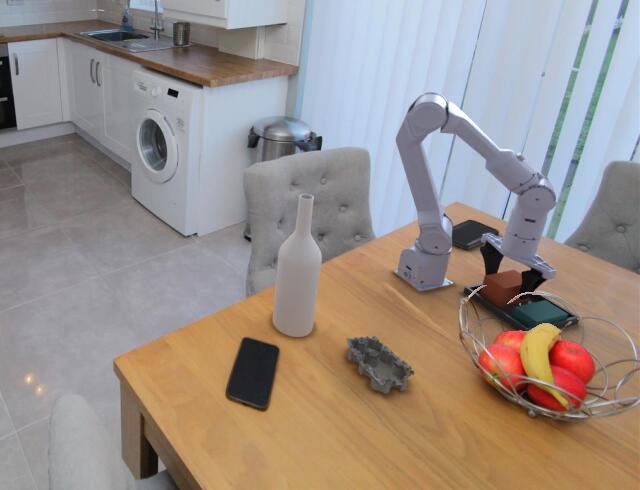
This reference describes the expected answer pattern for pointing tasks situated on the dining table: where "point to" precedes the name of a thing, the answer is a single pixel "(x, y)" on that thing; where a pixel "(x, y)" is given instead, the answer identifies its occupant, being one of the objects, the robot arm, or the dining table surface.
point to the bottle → (297, 276)
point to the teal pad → (538, 313)
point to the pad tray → (508, 310)
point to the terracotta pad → (502, 288)
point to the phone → (470, 234)
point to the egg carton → (379, 364)
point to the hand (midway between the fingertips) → (506, 286)
